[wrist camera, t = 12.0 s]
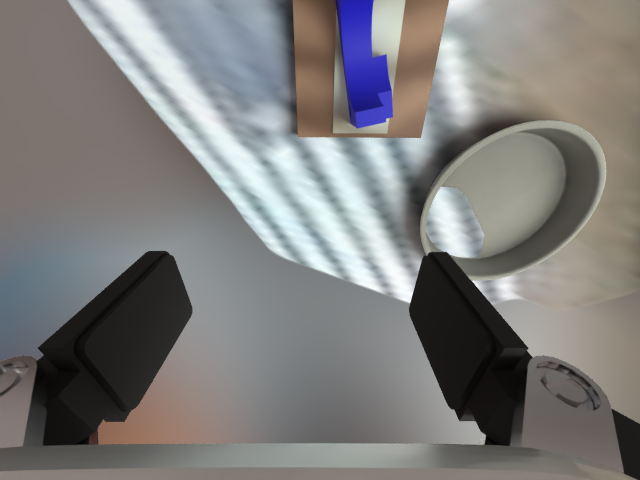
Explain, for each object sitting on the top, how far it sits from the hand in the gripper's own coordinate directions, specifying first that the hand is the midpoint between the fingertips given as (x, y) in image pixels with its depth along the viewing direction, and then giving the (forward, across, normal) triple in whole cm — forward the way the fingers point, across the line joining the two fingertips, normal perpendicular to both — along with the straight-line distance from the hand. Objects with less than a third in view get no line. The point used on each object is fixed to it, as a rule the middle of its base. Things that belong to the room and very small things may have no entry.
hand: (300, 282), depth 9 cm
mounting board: (+28, -6, -10) cm, 31 cm away
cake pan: (+29, -28, +8) cm, 41 cm away
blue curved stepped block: (+26, -6, -10) cm, 29 cm away
